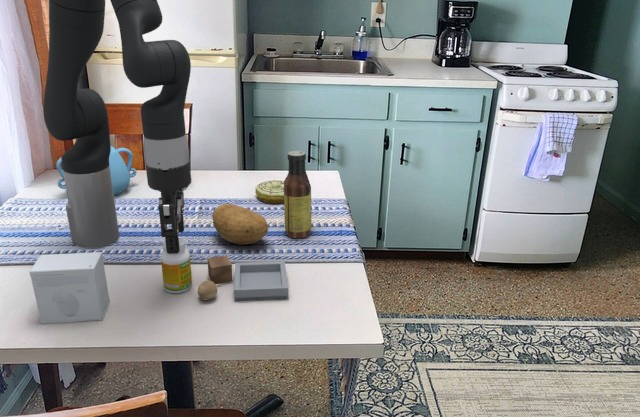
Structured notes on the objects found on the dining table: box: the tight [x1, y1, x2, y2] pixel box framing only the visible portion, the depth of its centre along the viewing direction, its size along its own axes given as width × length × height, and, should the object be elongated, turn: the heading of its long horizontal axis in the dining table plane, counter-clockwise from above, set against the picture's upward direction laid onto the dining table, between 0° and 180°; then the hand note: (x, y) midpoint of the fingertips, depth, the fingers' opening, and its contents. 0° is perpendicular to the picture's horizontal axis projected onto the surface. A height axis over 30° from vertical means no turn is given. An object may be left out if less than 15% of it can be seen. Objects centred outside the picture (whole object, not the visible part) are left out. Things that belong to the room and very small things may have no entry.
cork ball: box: [197, 279, 218, 301], centre depth 102 cm, size 4×4×4 cm
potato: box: [211, 203, 269, 245], centre depth 122 cm, size 10×14×8 cm
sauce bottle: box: [283, 150, 312, 240], centre depth 124 cm, size 6×6×20 cm
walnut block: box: [207, 254, 233, 285], centre depth 108 cm, size 4×4×4 cm
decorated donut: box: [254, 179, 285, 204], centre depth 147 cm, size 10×11×4 cm
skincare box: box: [29, 251, 111, 325], centre depth 95 cm, size 10×6×10 cm, turn 98°
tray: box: [233, 260, 289, 302], centre depth 106 cm, size 10×10×2 cm
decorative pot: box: [55, 145, 137, 196], centre depth 144 cm, size 16×16×14 cm
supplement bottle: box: [160, 237, 193, 294], centre depth 104 cm, size 5×5×10 cm
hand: (176, 241), depth 102 cm, fingers open, 8 cm apart
